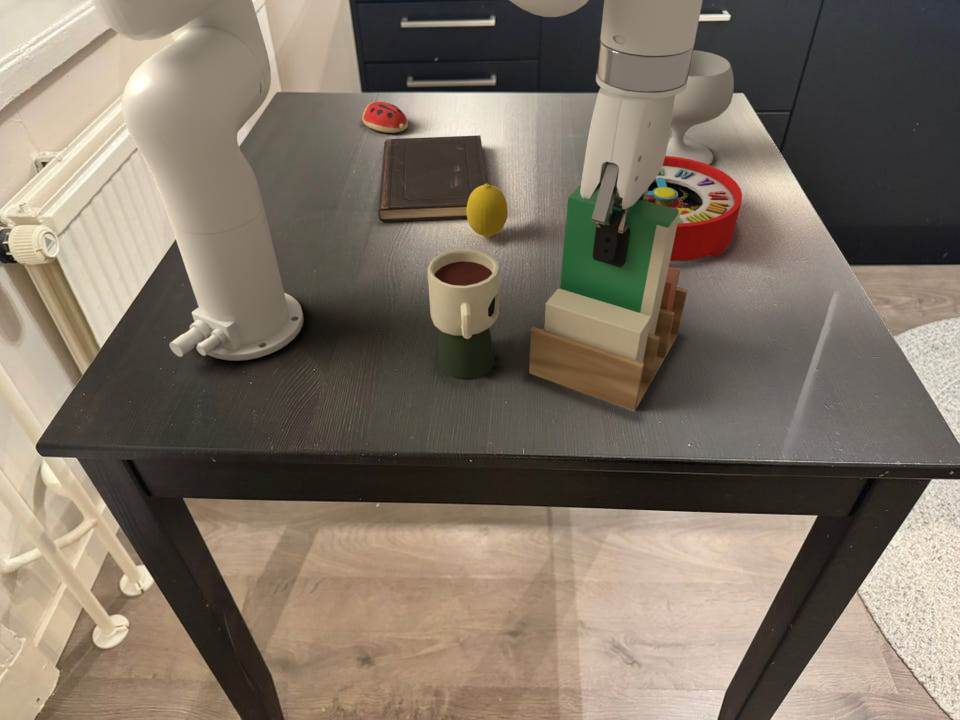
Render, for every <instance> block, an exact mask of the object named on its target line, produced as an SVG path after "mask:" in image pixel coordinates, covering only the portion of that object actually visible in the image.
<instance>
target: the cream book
mask: <svg viewBox="0 0 960 720" xmlns="http://www.w3.org/2000/svg"><path fill="white" fill-rule="evenodd" d="M544 309H545V310H544V327H543V330H545V331H548V332H551V333H554V334H557V335H560V336H563V337H566V338H569V339H572V340H575V341H578V342H581V343H584V344H587V345H590V346H593V347H596V348H599V349H602V350H605V351H608V352H611V353H614V354H617V355H620V356H623V357H626V358H629V359H632V360H635V361H638V362H641V363H643V360H644V354H645V349H646V343H647V338H648V332H649V326H650V321H651V316H648V315H645V314H642V313H638V312H635V311H632V310H628V309H625V308H622V307H619V306H615V305H612V304H609V303H605V302H602V301H599V300H596V299H592V298H589V297H586V296H582V295H579V294H576V293H573V292H569V291H566V290H563V289H560V287H559V288H557V289H556V290H555V291H554V292H553V294H552V295H551V296H550V297H549V299H548V300H547V301H546V303H545V308H544Z"/></svg>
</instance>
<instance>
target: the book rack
mask: <svg viewBox="0 0 960 720" xmlns="http://www.w3.org/2000/svg"><path fill="white" fill-rule="evenodd" d="M688 291H689V289H687V288H683V287H679V286H677V290H676V295H675V300H674V305H673V310H672V312H671V311H668V310H665V309H661V308H660V311H659V315H658V320H657V325H656V330H655V335H652V334H649V333H648V338H647V343H646V349H645V354H644V360H643V363H641V362H638V361H635V360H632V359H629V358H626V357H623V356H620V355H617V354H614V353H611V352H608V351H605V350H602V349H599V348H596V347H593V346H590V345H587V344H584V343H581V342H578V341H575V340H572V339H569V338H566V337H563V336H560V335H557V334H554V333H551V332H548V331H545V330H544V329H541V328H538V327H535V326H532V327H531V328H530V344H529V364H528V365H529V367H528V371H529V372H528V374H529V375H532V376H535V377H537V378H541V379H544V380H546V381H549V382H552V383H554V384H557V385H560V386H563V387H566V388H569V389H571V390H573V391H577V392H580V393H582V394H585V395H588V396H591V397H593V398H597V399H599V400H602V401H605V402H608V403H610V404H613V405H616V406H619V407H621V408H625V409H627V410H630V411H632V412H635V411H636V410H637V409H638V406H639V404H640V403H641V401H642V400H643V397H644V396H645V394H646V392H647V391H648V388H649V387H650V385H651V383H652V382H653V380H654V378H655V376H656V374H657V373H658V371H659V369H660V367H661V365H662V364H663V362H664V360H665V358H666V356H667V355H668V353H669V351H670V350H671V348H672V346H673V345H674V343H675V341H676V339H677V337H678V335H679V333H680V329H681V324H682V320H683V316H684V311H685V306H686V301H687V297H688V293H689V292H688Z"/></svg>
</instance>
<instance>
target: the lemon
mask: <svg viewBox="0 0 960 720" xmlns="http://www.w3.org/2000/svg"><path fill="white" fill-rule="evenodd" d="M507 219H508V203H507V199H506V197H505V195H504V193H503V191H502V190H501V189H500V188H498V187H496V186H495V185H492V184H489V183H488V184H484V185H482V186H479V187H477V188H476V189H475V190H474V191H473V192H472V193H471V194H470V197H469V199H468V203H467V219H466V220H467V222H468V225H469V227H470V229H471V230H472V231H474V232H475V233H476V234H478V235H479V236H482V237H484V238H490V237H491V236H495V235H496V234H498V233H499V232H500V231H502V230H503V228H504V227H505V225H506V223H507Z"/></svg>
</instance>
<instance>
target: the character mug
mask: <svg viewBox="0 0 960 720" xmlns="http://www.w3.org/2000/svg"><path fill="white" fill-rule="evenodd" d="M499 277H500V266H499V263H498V261H497V259H495V257H493V256H492V255H490V254H488V253H487V252H484V251H481V250H477V249H472V248H456V249H451V250H447V251H444V252H443V253H439V254H437V255H436V256H435V257H433V258H432V260H430V261H429V264H428V267H427V282H428V283H427V284H428V296H429V297H428V298H429V311H430V318H431V321H432V323H433V325H434V327H436V328H437V329H438V330H439V331H440V332H439V339H438V351H437V352H438V353H437V354H438V355H437V361H438V367H439V368H440V370H441V372H443V374H445V375H447V376H449V377H453V378H457V379H467V380H469V379H477V378H480V377H483V376H484V375H486V374H487V373H489V372H491V370H492V368H493V367H494V366H495V356H494V346H493V339H492V334H491V326H492V325H494V324H495V323H496V321H498V320H497V319H498V318H499V315H500V313H499V312H500V311H499V310H500V286H499V285H500V278H499Z"/></svg>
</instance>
